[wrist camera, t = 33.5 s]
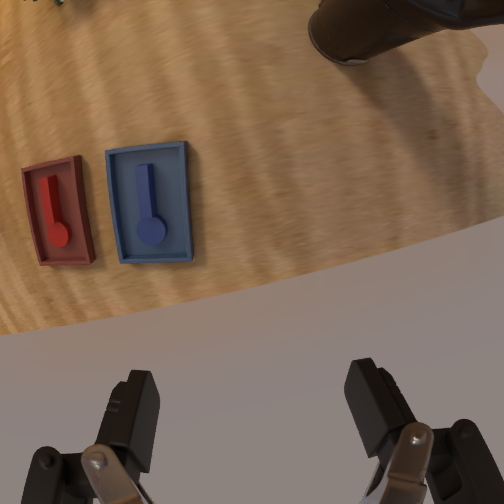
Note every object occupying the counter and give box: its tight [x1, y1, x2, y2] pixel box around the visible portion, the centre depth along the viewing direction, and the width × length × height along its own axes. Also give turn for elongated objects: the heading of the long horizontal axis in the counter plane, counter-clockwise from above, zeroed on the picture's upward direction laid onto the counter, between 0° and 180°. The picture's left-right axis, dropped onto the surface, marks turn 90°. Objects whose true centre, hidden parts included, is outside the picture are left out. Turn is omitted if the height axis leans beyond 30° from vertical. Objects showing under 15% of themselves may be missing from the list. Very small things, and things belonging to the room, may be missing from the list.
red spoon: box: [39, 175, 72, 248], centre depth 32 cm, size 10×4×2 cm, turn 1°
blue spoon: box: [135, 163, 168, 246], centre depth 34 cm, size 10×4×2 cm, turn 1°
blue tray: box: [105, 141, 194, 264], centre depth 34 cm, size 15×10×2 cm
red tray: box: [21, 155, 96, 266], centre depth 33 cm, size 15×10×2 cm
